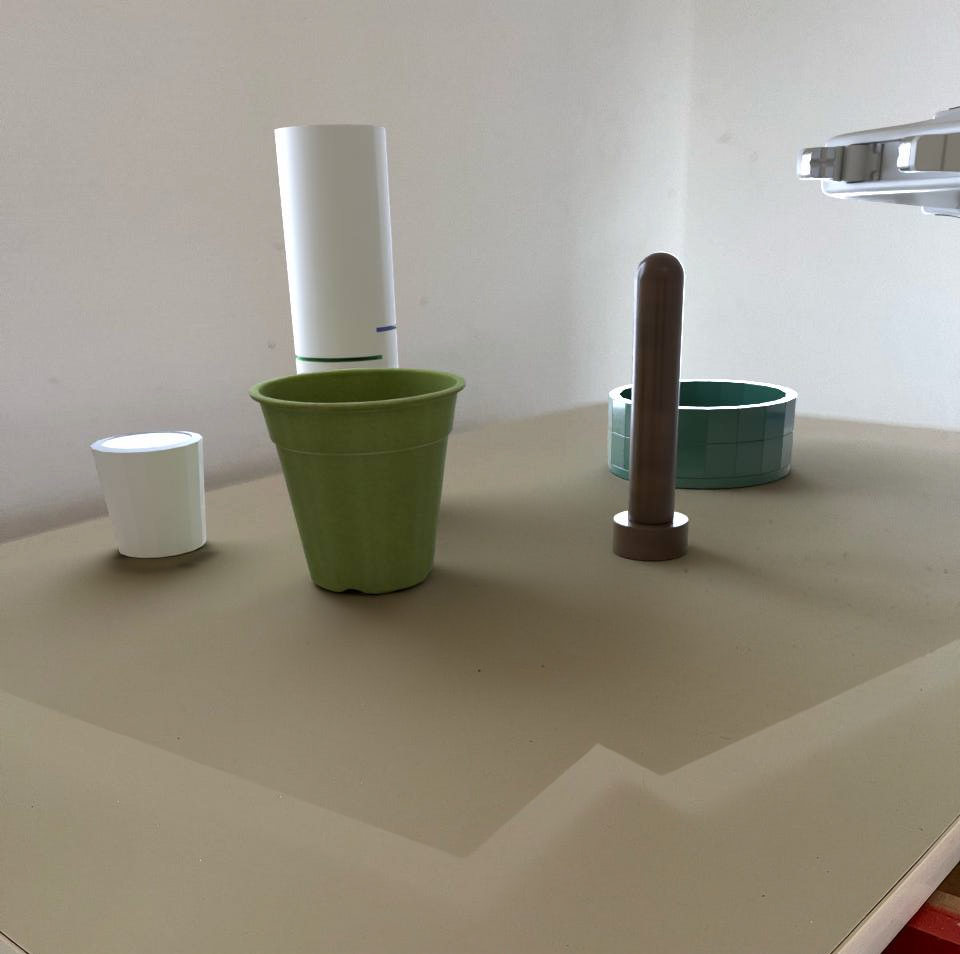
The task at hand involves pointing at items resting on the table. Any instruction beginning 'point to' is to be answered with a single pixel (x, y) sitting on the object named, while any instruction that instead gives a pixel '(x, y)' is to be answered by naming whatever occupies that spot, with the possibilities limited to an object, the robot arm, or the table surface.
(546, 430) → the table surface
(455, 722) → the table surface
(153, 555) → the white short cylinder
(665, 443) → the pestle
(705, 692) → the table surface
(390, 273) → the cylindrical container
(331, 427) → the plant pot
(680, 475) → the bowl
